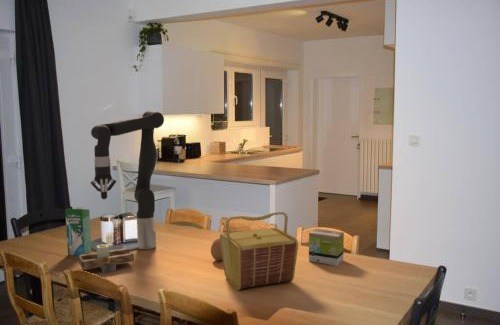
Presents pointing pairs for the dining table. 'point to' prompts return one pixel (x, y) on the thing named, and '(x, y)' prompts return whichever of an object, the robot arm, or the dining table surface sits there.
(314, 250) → the tea box
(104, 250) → the block
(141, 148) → the robot arm
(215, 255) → the egg
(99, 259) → the beam
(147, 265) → the dining table surface
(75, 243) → the milk carton
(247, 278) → the picnic basket
